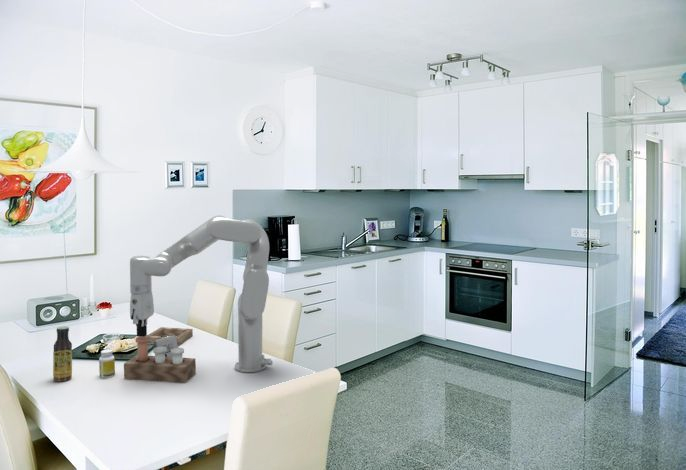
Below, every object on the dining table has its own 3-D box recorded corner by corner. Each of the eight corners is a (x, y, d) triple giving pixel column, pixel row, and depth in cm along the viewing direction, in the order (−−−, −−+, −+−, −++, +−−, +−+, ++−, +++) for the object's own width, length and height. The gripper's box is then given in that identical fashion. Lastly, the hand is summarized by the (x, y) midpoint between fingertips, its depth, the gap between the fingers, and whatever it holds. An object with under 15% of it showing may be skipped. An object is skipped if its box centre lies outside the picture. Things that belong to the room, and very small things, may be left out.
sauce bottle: (53, 383, 192) (50, 330, 190) (53, 377, 198) (51, 326, 196) (73, 380, 195) (71, 328, 193) (73, 375, 201) (71, 324, 199)
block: (195, 373, 204) (195, 358, 204) (184, 383, 195) (184, 367, 194) (137, 369, 207) (137, 354, 207) (124, 379, 198) (123, 363, 197)
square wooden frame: (192, 336, 252) (192, 328, 252) (178, 346, 237) (178, 338, 236) (161, 334, 254) (161, 327, 254) (144, 344, 239) (144, 336, 238)
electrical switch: (160, 362, 215) (158, 340, 215) (153, 361, 219) (151, 339, 218) (179, 357, 223) (178, 335, 222) (172, 355, 226) (171, 334, 226)
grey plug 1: (169, 372, 203) (168, 346, 202) (163, 377, 198) (162, 350, 197) (157, 371, 204) (156, 346, 203) (151, 376, 199) (150, 350, 198)
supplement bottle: (118, 374, 202) (117, 349, 201) (107, 379, 197) (106, 354, 196) (107, 372, 204) (106, 348, 203) (96, 377, 199) (95, 352, 198)
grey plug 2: (186, 373, 202) (186, 348, 201) (181, 378, 197) (180, 352, 196) (174, 372, 203) (174, 347, 202) (169, 377, 198) (168, 351, 197)
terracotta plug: (152, 361, 203) (151, 336, 202) (145, 366, 199) (145, 340, 198) (140, 361, 204) (139, 335, 203) (133, 365, 199) (133, 339, 198)
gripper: (140, 293, 190) (141, 342, 192) (159, 285, 205) (160, 331, 207) (121, 292, 191) (121, 341, 193) (141, 284, 206) (142, 329, 208)
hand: (141, 335), depth 200 cm, fingers closed
